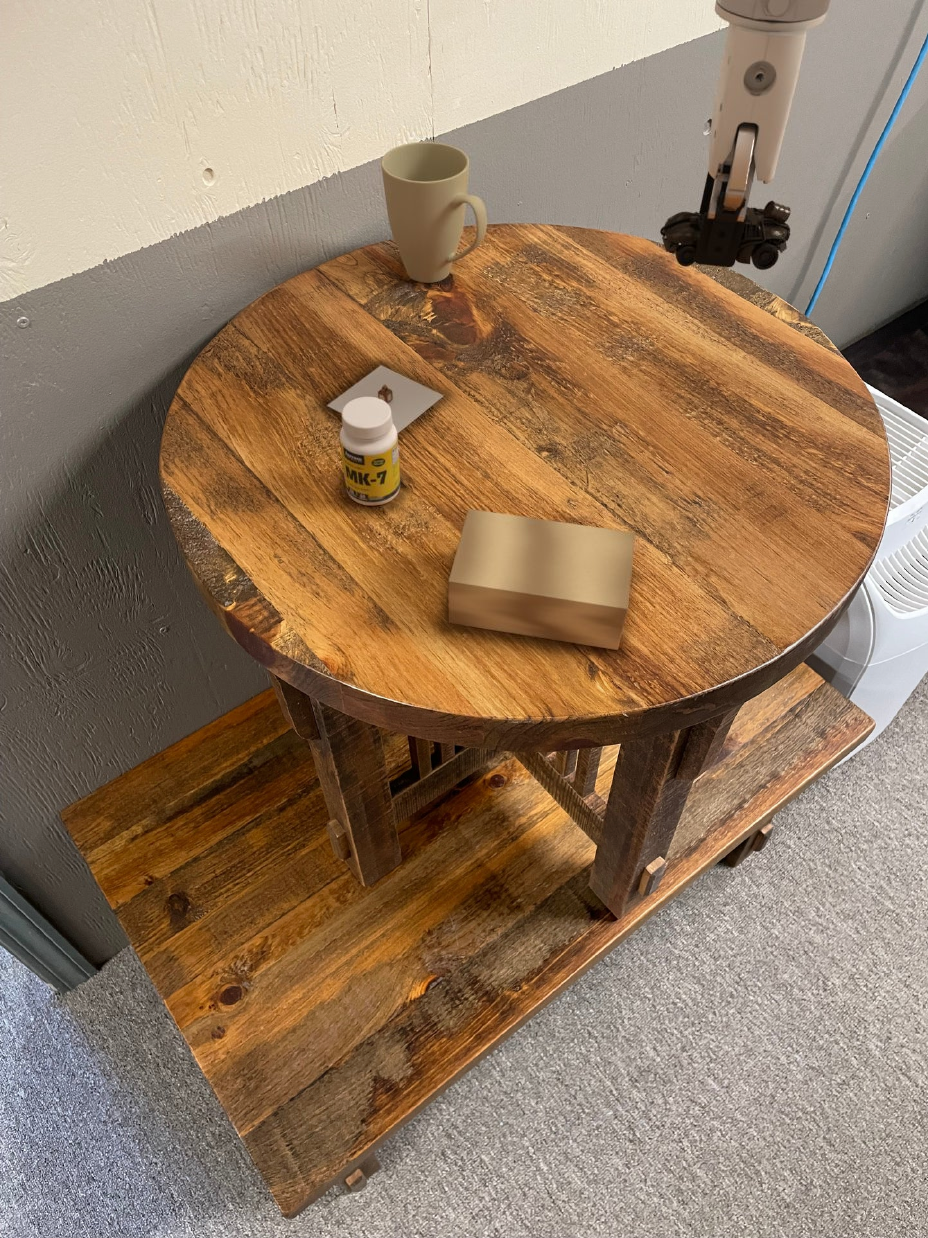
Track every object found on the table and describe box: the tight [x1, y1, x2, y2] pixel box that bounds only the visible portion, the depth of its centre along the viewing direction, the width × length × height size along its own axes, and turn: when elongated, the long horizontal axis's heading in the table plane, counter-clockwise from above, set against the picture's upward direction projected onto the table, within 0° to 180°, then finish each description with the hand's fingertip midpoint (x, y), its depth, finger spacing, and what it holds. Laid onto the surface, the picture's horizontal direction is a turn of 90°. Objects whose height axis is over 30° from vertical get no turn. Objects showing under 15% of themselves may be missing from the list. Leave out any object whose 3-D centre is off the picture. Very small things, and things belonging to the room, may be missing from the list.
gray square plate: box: [326, 364, 445, 434], centre depth 82 cm, size 8×8×2 cm
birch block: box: [447, 508, 636, 651], centre depth 66 cm, size 13×8×5 cm, turn 79°
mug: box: [380, 141, 488, 284], centre depth 92 cm, size 11×10×12 cm
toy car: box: [648, 200, 791, 271], centre depth 72 cm, size 6×12×4 cm, turn 91°
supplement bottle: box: [339, 397, 401, 506], centre depth 72 cm, size 5×5×8 cm
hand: (715, 240), depth 73 cm, fingers closed on toy car, 6 cm apart
